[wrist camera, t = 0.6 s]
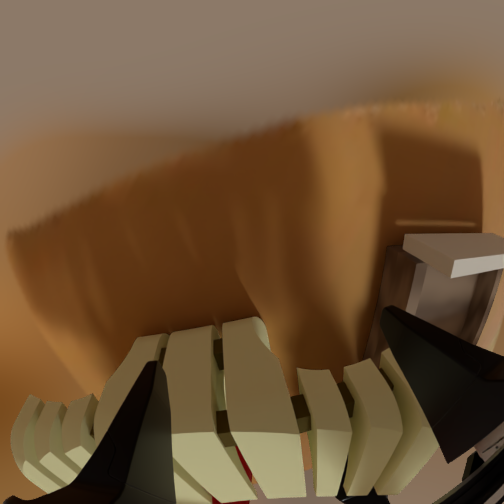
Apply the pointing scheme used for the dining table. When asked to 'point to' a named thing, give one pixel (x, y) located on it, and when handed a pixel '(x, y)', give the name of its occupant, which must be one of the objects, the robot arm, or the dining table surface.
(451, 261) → the panel
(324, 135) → the dining table surface
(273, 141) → the dining table surface
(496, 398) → the robot arm
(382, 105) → the dining table surface
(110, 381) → the slatted curved stool
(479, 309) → the brown open box
